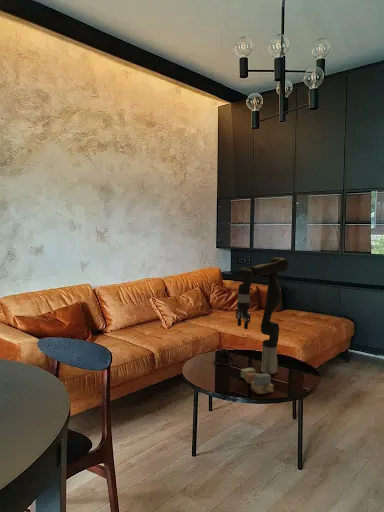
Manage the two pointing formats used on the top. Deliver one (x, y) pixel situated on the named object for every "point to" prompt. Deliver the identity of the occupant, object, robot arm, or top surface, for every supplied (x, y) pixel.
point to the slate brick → (262, 379)
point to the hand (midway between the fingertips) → (242, 327)
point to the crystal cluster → (224, 358)
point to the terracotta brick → (250, 377)
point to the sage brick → (247, 370)
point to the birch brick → (262, 388)
